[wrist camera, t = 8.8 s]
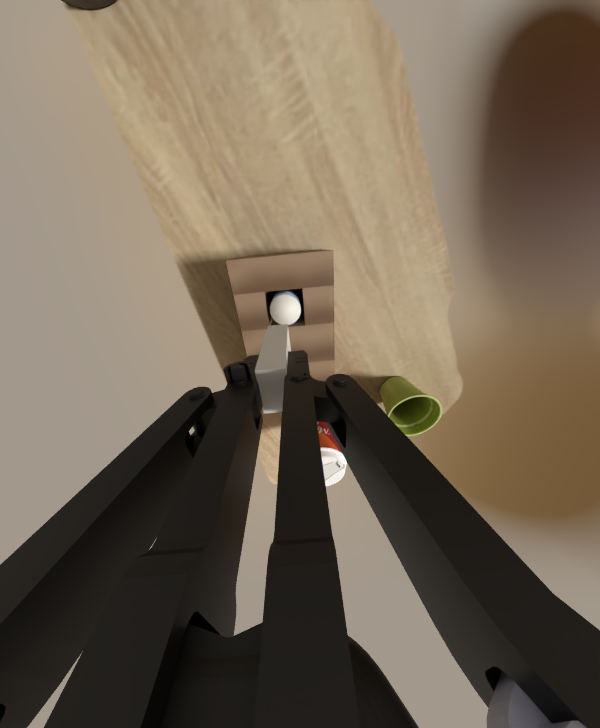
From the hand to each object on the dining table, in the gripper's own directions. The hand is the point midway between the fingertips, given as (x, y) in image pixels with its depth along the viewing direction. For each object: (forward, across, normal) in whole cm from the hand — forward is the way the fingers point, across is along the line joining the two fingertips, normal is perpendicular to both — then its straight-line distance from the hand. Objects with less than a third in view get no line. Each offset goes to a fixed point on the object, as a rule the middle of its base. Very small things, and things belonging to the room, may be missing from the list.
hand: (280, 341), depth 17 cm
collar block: (+21, 0, -6) cm, 22 cm away
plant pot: (+21, +20, -22) cm, 36 cm away
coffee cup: (+21, +3, -26) cm, 33 cm away
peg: (+21, 0, -1) cm, 21 cm away
